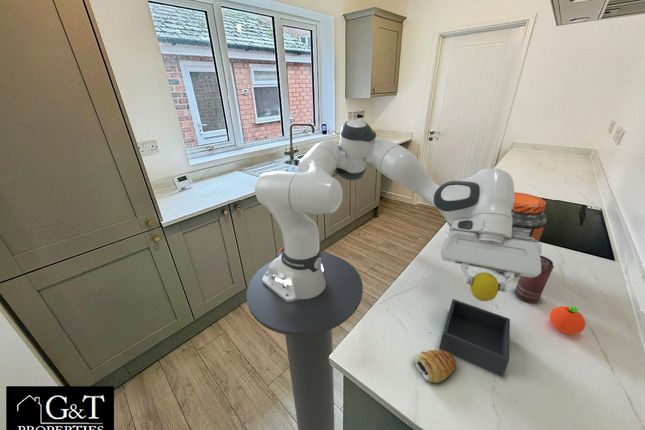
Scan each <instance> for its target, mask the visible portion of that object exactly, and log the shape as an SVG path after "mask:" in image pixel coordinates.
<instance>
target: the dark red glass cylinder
mask: <svg viewBox="0 0 645 430" xmlns="http://www.w3.org/2000/svg"><path fill="white" fill-rule="evenodd" d="M540 259H541V273H540V274H539V275H538V276H536V277H532V278H530V277H525V276H520V275H519V278H518V281H517V283H516V284H517V285H516V287H515V290H514V293H515V296H516V298H518V299H519V300H521V301H522V302H525V303H528V304H535V303H537V302H539V301H540V298H541V297H542V294H543V291H544V290H545V288H546V285H547V283H548V281H549V279H550V276H551V274H552V271H553V269H554V262H553V261H552V260H551V259H550V258H548V257H546V256H544V255H540Z"/></svg>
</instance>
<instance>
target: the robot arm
mask: <svg viewBox="0 0 645 430" xmlns="http://www.w3.org/2000/svg"><path fill="white" fill-rule="evenodd" d="M339 135H340V136H339V141H338V144H337V142H335V141H334V140H331V139H323V140H322V141H319V142H317V143H316V144H315V145H313V146H312V147H311V148H310V149H309V150H308V151H307V152H306V153H305V155H304V156H303V157H302V158H301V159H300V160H299V161H298V163H297V164H298V165H297V172H295V171H294V172H293V171H284V170H283V171H281V170H277V171H267V172H264V173H262V174H260V175H259V176H258V178H257V180H256V182H255V186H254V194H255V197H256V199H257V201H258V203H259V204H261V205H262V206H263V207H265V209H267V210H268V211H269V212H270V214H271V215H272V216H273V218H274V219H275V221H276V222H277V225H278V226H279V229H280V231H281V236H282V241H283V246H282V248H280V249H279V250H278V251H277V252H278V253H276V258H275V259H273V260H271V261H272V262H271V261H270V262H271V264H270V265H269V268H268V271H267V272H266V273H265V274H264V276H263V278H262V282H263V283H264V284H265V285H267V286H268V287H269V288H270V289H272V290H273V291H274V292H275V293H277V294H278V295H279V296H280V297H282V298H283V299H284V300H285V301H287V302H292V301H295V300H300V299H310V298H313V297H316V296H318V295H319V294H321V293H322V292H323V290H324V289H325V287H326V280H325V277H324V274H323V267H322V264H321V260H322V256H321V252H322V246H321V245H320V228H319V226H318V224H317V222H315V220H313V218H311V217H309V216H308V215H307V214H313V215H326V214H333V213H335V212H336V211H337V210H338V209H340V208H339V207H340V206H341V204H342V203H343V202H342V201H343V196H344V192H343V188H342V184H341V182H340V181H339V180H338V179H337V178H335V177H333V175H334V173H336V174H338V176H339V177H341V178H342V179H344V180H346V181H358V180H360V179H362V178H364V176H365V173H366V170H367V164H368V163H369V164H371V165H372V166H373V167H374V168H375V169H376V170H377V171H378V172H379V173H381V174H382V175H384V176H385V177H386V178H388V179H390V180H391V181H393V182H395V183H397V184H398V185H400V186H402V187H404V188H406V189H408V190H409V191H411V192H413V193H415V194H416V195H418V196H419V197H420V198H422V199H423V200H424V201H426V202H427V203H429V204H430V205H431V206H433V207H434V208H435V209H436V210H437V211H438V212H439V213H440V215H442V217H443V218H444V220H445V222H446V223H447V225H448V226H449V232H448V233H447V235H446V237H445V238H444V241H443V243H442V246H441V251H440V255H439V256H440V258H441V260H442V261H444V262H450V263H453V264H459V265H460V270H461V272H462V274H463V276H464V282H463V283H464V284H465V285H472V284H473V281H472V280H473V278H474V276H472V275H470V274H469V273H470V272H469V271H468V269H469V268H470V267H475V268H479V269H485V270H490V271H495V272H497V271H500V272H504V273H503V277H504V278H505V280H504V281H503V282H498V285H499V290H498V292H502V293H507V292H508V288H509V287H508V285H509V284H510V283H511V282H512V281H513V280H514V278H515V276H519V277H520V276H525V277H530V278H532V277H536V276H538V275H539V274H540V273H541V259H540V256H541V254H542V243H541V242H540V240H539V241H537V240H535V239H534V238H533V237H525V236H520V235H514V234H512V224H513V218H512V214H511V211H512V208H513V205H514V192H515V184H514V183H515V182H514V179H513V177H512V176H511V175H510V173H508V172H507V171H505V170H502V169H499V168H491V167H490V168H483V169H481V170H479V171H478V172H476V173H474V174H473V175H472V176H468V177H466V178H463V179H459V180H450V181H447V182H444V183H443V184H441V185H439V184H438V183H437V182H436V181H434V179H432V178H431V177H430V175H429V174H428V172H427V171H426V170H425V168H424V167H423V165H422V163H421V162H420V161H419V159H418V158H417V157H416V156H415V155H414V154H413V153H412V152H411V151H410V150H408V149H407V148H406V147H404V146H402V145H400V144H398V143H395V142H394V141H391V140H387V139H384V138H383V139H382V138H381V139H376V138H377V133H376V132H375V131H374V130H373V128H372V126H370V125H369V123H367V122H366V121H364V120H360V119H351V120H350V119H349V120H347V121H345V122H344V123H342V125H341V128H340V131H339ZM534 241H535V242H534ZM500 272H499V273H500ZM287 296H288V297H287Z"/></svg>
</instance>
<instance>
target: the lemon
mask: <svg viewBox="0 0 645 430" xmlns="http://www.w3.org/2000/svg"><path fill="white" fill-rule="evenodd" d="M472 281H473V284H472V285H470V284H469V285H470V286H469V288H470V292H471V294H472V296H473V297H474V298H475V299H476V300H478V301H481V302H490V301H493V300H494V299H495V298H496V297H497V295H498V293H499V291H498V290H499V285H498V283H499V281H498V279H497V278H496V276H494V275H493V274H492V273H490V272H486V271H482V272H479V273H477V274H475V275H474V276H473V280H472Z"/></svg>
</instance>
